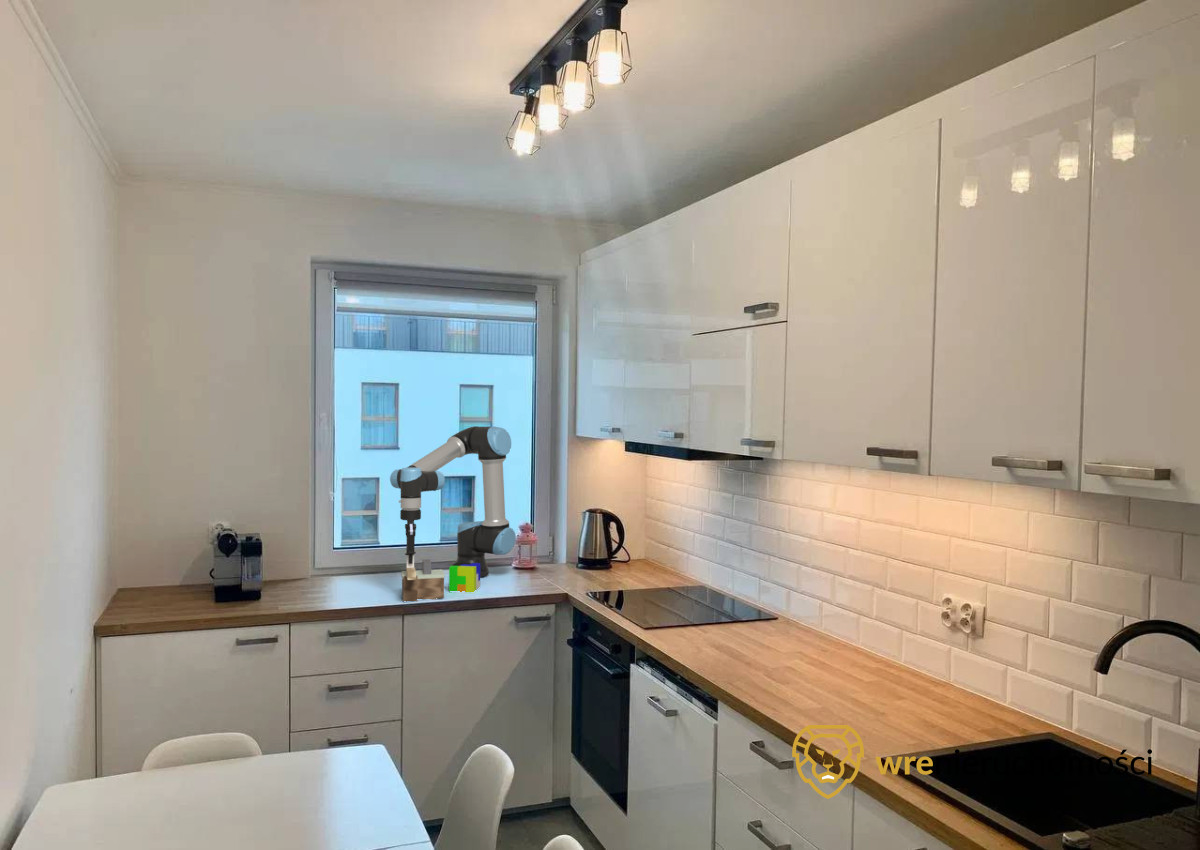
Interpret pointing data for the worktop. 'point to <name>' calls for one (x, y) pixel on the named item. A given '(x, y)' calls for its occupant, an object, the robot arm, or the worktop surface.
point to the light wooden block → (411, 573)
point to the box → (422, 588)
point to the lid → (427, 571)
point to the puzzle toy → (464, 577)
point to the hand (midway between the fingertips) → (410, 571)
